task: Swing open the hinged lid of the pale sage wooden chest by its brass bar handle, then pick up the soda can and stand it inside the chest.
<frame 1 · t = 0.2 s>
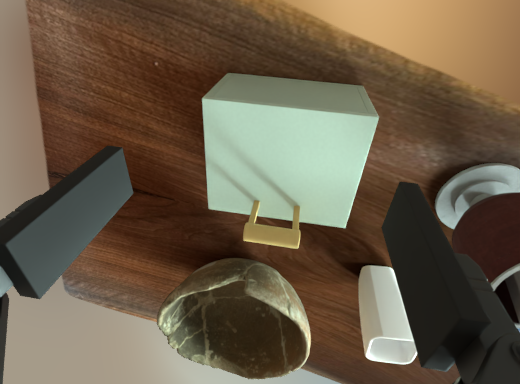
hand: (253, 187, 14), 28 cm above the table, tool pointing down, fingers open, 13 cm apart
mate gourd: (477, 202, 45), on the table
chest lid: (278, 183, 31), point 14 cm above the table, hinge at 0.0°
chest: (288, 128, 42), on the table
bowl: (247, 272, 62), on the table
cup: (374, 272, 56), on the table
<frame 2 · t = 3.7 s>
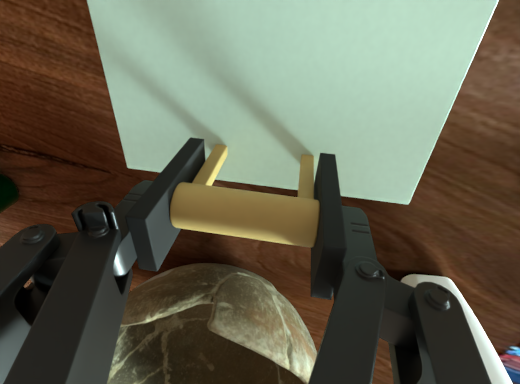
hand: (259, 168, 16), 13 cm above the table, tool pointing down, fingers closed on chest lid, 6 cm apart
soda can: (4, 184, 38), on the table
chest lid: (261, 74, 12), point 14 cm above the table, hinge at 0.0°, touching gripper
bowl: (229, 283, 43), on the table
cup: (420, 285, 37), on the table
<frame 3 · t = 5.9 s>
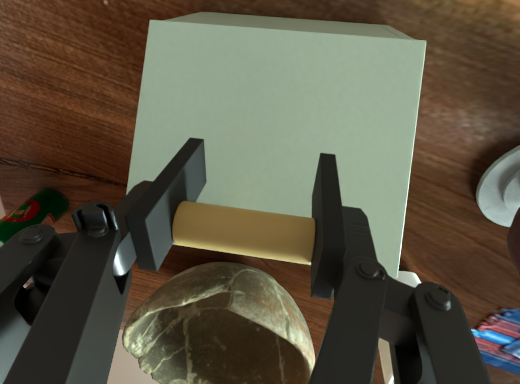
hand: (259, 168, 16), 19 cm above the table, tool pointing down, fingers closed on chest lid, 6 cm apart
soda can: (56, 199, 47), on the table
chest lid: (264, 131, 16), point 18 cm above the table, hinge at 36.5°, touching gripper
chest: (284, 91, 32), on the table
bowl: (238, 278, 52), on the table
cup: (393, 278, 46), on the table
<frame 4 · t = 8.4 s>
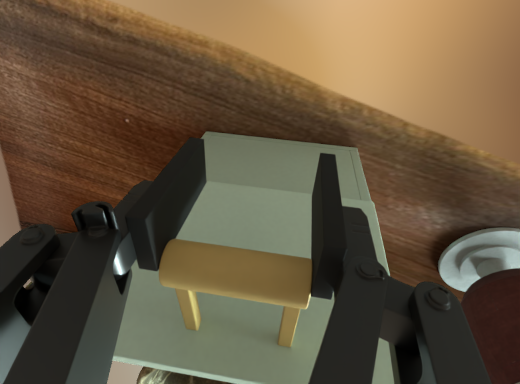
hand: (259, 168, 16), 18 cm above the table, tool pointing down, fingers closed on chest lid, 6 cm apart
mate gourd: (484, 263, 40), on the table
chest lid: (255, 227, 18), point 18 cm above the table, hinge at 85.3°, touching gripper
chest: (275, 187, 38), on the table
bowl: (237, 321, 58), on the table
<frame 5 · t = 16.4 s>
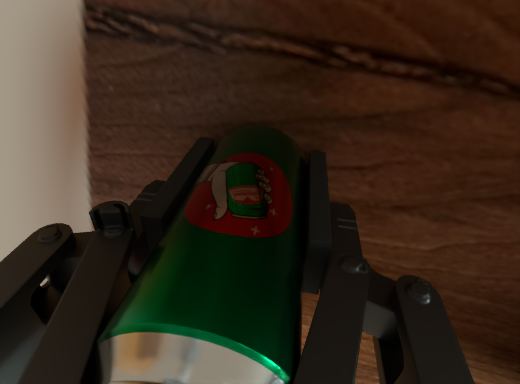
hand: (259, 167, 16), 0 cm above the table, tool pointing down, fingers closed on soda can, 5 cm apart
soda can: (261, 163, 16), on the table, touching gripper
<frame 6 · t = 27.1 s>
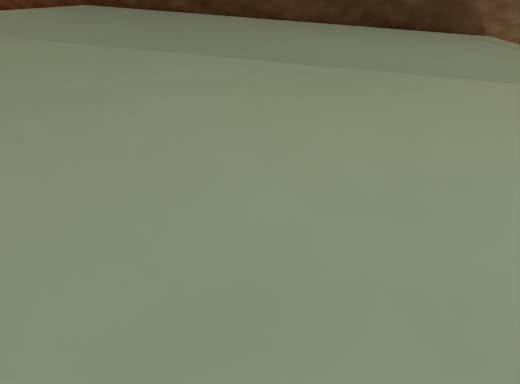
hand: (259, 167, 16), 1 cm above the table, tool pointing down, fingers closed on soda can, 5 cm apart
chest: (264, 158, 17), on the table
when the fingers open (4 cm above the table, at t = 33.6 s): soda can stays where it is, resting on chest.
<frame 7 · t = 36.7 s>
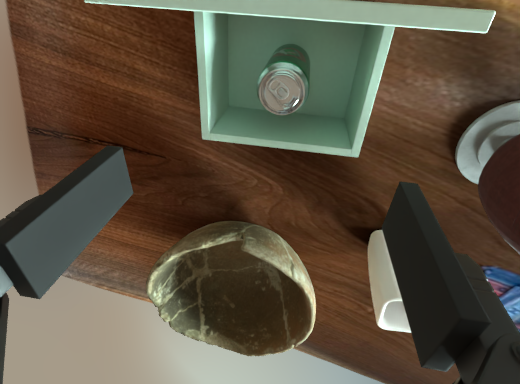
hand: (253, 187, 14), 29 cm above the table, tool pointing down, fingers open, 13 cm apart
mate gourd: (503, 150, 40), on the table
soda can: (290, 64, 37), point 1 cm above the table, touching chest
chest: (291, 64, 37), on the table
bowl: (246, 243, 57), on the table
cup: (385, 239, 52), on the table
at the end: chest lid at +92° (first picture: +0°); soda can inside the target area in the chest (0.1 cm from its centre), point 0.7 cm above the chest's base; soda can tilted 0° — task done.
